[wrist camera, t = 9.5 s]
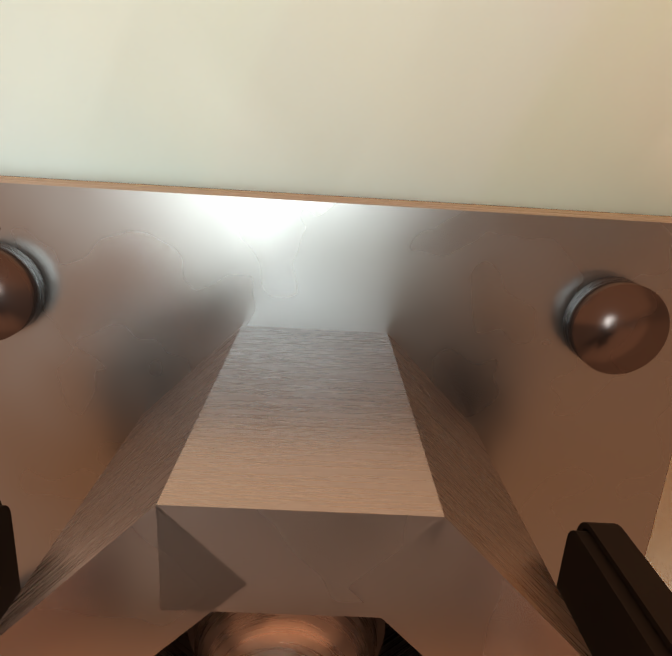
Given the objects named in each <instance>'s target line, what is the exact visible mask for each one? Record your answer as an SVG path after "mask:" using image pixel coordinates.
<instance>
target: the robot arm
mask: <svg viewBox="0 0 672 656" xmlns="http://www.w3.org/2000/svg"><path fill="white" fill-rule="evenodd" d="M556 587H557V589H558V591H559V592H560V594H561V596H562V598H563V600H564V602H565V604H566V606H567V608H568V610H569V612H570V614H571V616H572V618H573V620H574V622H575V624H576V625H577V627H578V629H579V631H580V633H581V635H582V637H583V639H584V641H585V643H586V645H587V647H588V649H589V651H590V653H591V655H592V656H672V592H671V591H670V590H669V588H668V587H667V586H666V584H665V583H664V582H663V581H662V579H661V578H660V577H659V575H658V574H657V573H656V571H655V570H654V569H653V567H652V566H651V565H650V564H649V562H648V561H647V560H646V558H645V557H644V556H643V554H642V553H641V552H640V550H639V549H638V548H637V547H636V545H635V544H634V543H633V541H632V540H631V539H630V537H629V536H628V535H627V533H626V532H625V531H624V530H623V528H622V527H621V526H620V525H618V524H615V523H597V522H582V523H580V525H579V526H578V528H577V530H572V531H570V532H569V533H568V535H567V539H566V543H565V548H564V553H563V557H562V562H561V567H560V571H559V576H558V581H557V585H556ZM20 591H21V587H20V579H19V571H18V563H17V555H16V548H15V540H14V532H13V524H12V516H11V511H10V508H9V507H8V506H6V505H2V504H1V501H0V620H1V619H2V617H3V616H4V614H5V613H6V612H7V610H8V609H9V607H10V606H11V604H12V603H13V601H14V600H15V598H16V597H17V596H18V594H19V593H20Z"/></svg>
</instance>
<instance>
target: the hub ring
mask: <svg viewBox="0 0 672 656" xmlns="http://www.w3.org/2000/svg"><path fill="white" fill-rule="evenodd" d="M210 612H238V613H265V614H292V615H320V616H347V617H374V618H382V619H383V620H384V621H385V634H384V639H383V644H382V646H381V649H380V652H379V654H378V656H592V655H591V653H590V651H589V649H588V647H587V645H586V643H585V641H584V639H583V637H582V635H581V633H580V631H579V629H578V627H577V625H576V624H575V622H574V620H573V618H572V616H571V614H570V612H569V610H568V608H567V606H566V604H565V602H564V600H563V598H562V596H561V594H560V592H559V591H558V589H557V587H556V585H555V583H554V581H553V579H552V577H551V575H550V573H549V571H548V569H547V567H546V565H545V563H544V561H543V559H542V558H541V556H540V554H539V552H538V550H537V548H536V546H535V544H534V542H533V540H532V538H531V536H530V534H529V532H528V530H527V528H526V526H525V525H524V523H523V521H522V519H521V517H520V515H519V513H518V511H517V509H516V507H515V505H514V503H513V501H512V499H511V497H510V495H509V493H508V492H507V490H506V488H505V486H504V484H503V482H502V480H501V478H500V476H499V474H498V472H497V470H496V468H495V466H494V464H493V462H492V460H491V459H490V457H489V455H488V453H487V451H486V449H485V447H484V445H483V443H482V441H481V439H480V437H479V435H478V433H477V431H476V430H475V428H474V427H473V426H472V425H471V424H470V423H469V422H468V421H467V420H466V419H465V417H464V416H463V415H462V414H461V413H460V412H459V411H458V410H457V409H456V408H455V407H454V405H453V404H452V403H451V402H450V401H449V400H448V399H447V398H446V397H445V396H444V394H443V393H442V392H441V391H440V390H439V389H438V388H437V387H436V386H435V385H434V384H433V382H432V381H431V380H430V379H429V378H428V377H427V376H426V375H425V374H424V373H423V371H422V370H421V369H420V368H419V367H418V366H417V365H416V364H415V363H414V362H413V360H412V359H411V358H410V357H409V356H408V355H407V354H406V353H405V352H404V351H403V350H402V348H401V347H400V346H399V345H398V344H397V343H396V342H395V341H394V340H393V339H392V337H391V336H390V335H389V334H388V333H378V332H358V331H339V330H319V329H299V328H279V327H260V326H241V327H240V328H239V329H238V330H237V331H236V332H235V333H233V334H232V335H231V336H230V337H229V338H228V339H227V340H226V341H224V342H223V343H222V344H221V345H220V346H219V347H218V348H217V349H215V350H214V351H213V352H212V353H211V354H210V355H209V356H208V357H207V358H205V359H204V360H203V361H202V362H201V363H200V364H199V365H198V366H196V367H195V368H194V369H193V370H192V371H191V372H190V373H189V374H187V375H186V376H185V377H184V378H183V379H182V380H181V381H180V382H178V383H177V384H176V385H175V386H174V387H173V388H172V389H171V390H170V391H168V392H167V393H166V394H165V395H164V396H163V397H162V398H161V399H159V400H158V401H157V402H156V403H155V404H154V405H153V406H152V407H150V408H149V409H148V410H147V411H146V412H145V413H144V414H143V415H142V416H141V418H140V419H139V421H138V422H137V423H136V425H135V426H134V428H133V429H132V431H131V432H130V434H129V435H128V436H127V438H126V439H125V441H124V442H123V444H122V445H121V447H120V448H119V449H118V451H117V452H116V454H115V455H114V457H113V458H112V460H111V461H110V463H109V464H108V465H107V467H106V468H105V470H104V471H103V473H102V474H101V476H100V477H99V478H98V480H97V481H96V483H95V484H94V486H93V487H92V489H91V490H90V491H89V493H88V494H87V496H86V497H85V499H84V500H83V502H82V503H81V504H80V506H79V507H78V509H77V510H76V512H75V513H74V515H73V516H72V517H71V519H70V520H69V522H68V523H67V525H66V526H65V528H64V529H63V530H62V532H61V533H60V535H59V536H58V538H57V539H56V541H55V542H54V544H53V545H52V546H51V548H50V549H49V551H48V552H47V554H46V555H45V557H44V558H43V559H42V561H41V562H40V564H39V565H38V567H37V568H36V570H35V571H34V572H33V574H32V575H31V577H30V578H29V580H28V581H27V583H26V584H25V585H24V587H23V588H22V590H21V591H20V593H19V594H18V596H17V597H16V598H15V600H14V601H13V603H12V604H11V606H10V607H9V609H8V610H7V612H6V613H5V614H4V616H3V617H2V619H1V620H0V656H195V653H194V651H193V649H192V647H191V644H190V640H189V637H188V629H189V628H191V627H192V626H193V625H195V624H196V623H197V622H198V621H200V620H201V619H202V618H204V617H205V616H206V615H208V614H209V613H210Z"/></svg>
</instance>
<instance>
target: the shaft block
mask: <svg viewBox="0 0 672 656" xmlns="http://www.w3.org/2000/svg"><path fill="white" fill-rule="evenodd" d="M241 326H260V327H279V328H299V329H319V330H339V331H358V332H378V333H388V334H389V335H390V336H391V337H392V339H393V340H394V341H395V342H396V343H397V344H398V345H399V346H400V347H401V348H402V350H403V351H404V352H405V353H406V354H407V355H408V356H409V357H410V358H411V359H412V360H413V362H414V363H415V364H416V365H417V366H418V367H419V368H420V369H421V370H422V371H423V373H424V374H425V375H426V376H427V377H428V378H429V379H430V380H431V381H432V382H433V384H434V385H435V386H436V387H437V388H438V389H439V390H440V391H441V392H442V393H443V394H444V396H445V397H446V398H447V399H448V400H449V401H450V402H451V403H452V404H453V405H454V407H455V408H456V409H457V410H458V411H459V412H460V413H461V414H462V415H463V416H464V417H465V419H466V420H467V421H468V422H469V423H470V424H471V425H472V426H473V427H474V428H475V430H476V431H477V433H478V435H479V437H480V439H481V441H482V443H483V445H484V447H485V449H486V451H487V453H488V455H489V457H490V459H491V460H492V462H493V464H494V466H495V468H496V470H497V472H498V474H499V476H500V478H501V480H502V482H503V484H504V486H505V488H506V490H507V492H508V493H509V495H510V497H511V499H512V501H513V503H514V505H515V507H516V509H517V511H518V513H519V515H520V517H521V519H522V521H523V523H524V525H525V526H526V528H527V530H528V532H529V534H530V536H531V538H532V540H533V542H534V544H535V546H536V548H537V550H538V552H539V554H540V556H541V558H542V559H543V561H544V563H545V565H546V567H547V569H548V571H549V573H550V575H551V577H552V579H553V581H554V583H555V585H557V581H558V576H559V571H560V567H561V562H562V557H563V553H564V548H565V543H566V539H567V535H568V533H569V532H570V531H572V530H577V528H578V526H579V525H580V523H582V522H597V523H615V524H618V525H620V526H621V527H622V528H623V530H624V531H625V532H626V533H627V535H628V536H629V537H630V539H631V540H632V541H633V543H634V544H635V545H636V547H637V548H638V549H639V550H640V552H641V553H642V554H643V556H644V557H645V554H646V550H647V546H648V542H649V538H650V535H651V531H652V527H653V523H654V520H655V516H656V512H657V508H658V505H659V501H660V497H661V493H662V489H663V486H664V482H665V478H666V474H667V471H668V467H669V463H670V459H671V456H672V216H656V215H639V214H623V213H607V212H590V211H574V210H557V209H541V208H524V207H508V206H491V205H475V204H458V203H442V202H425V201H409V200H392V199H376V198H359V197H343V196H326V195H310V194H294V193H277V192H261V191H244V190H228V189H211V188H195V187H178V186H162V185H145V184H129V183H112V182H96V181H79V180H63V179H46V178H30V177H13V176H0V501H1V504H2V505H6V506H8V507H9V508H10V511H11V516H12V524H13V532H14V540H15V548H16V555H17V563H18V571H19V579H20V587H21V590H22V588H23V587H24V585H25V584H26V583H27V581H28V580H29V578H30V577H31V575H32V574H33V572H34V571H35V570H36V568H37V567H38V565H39V564H40V562H41V561H42V559H43V558H44V557H45V555H46V554H47V552H48V551H49V549H50V548H51V546H52V545H53V544H54V542H55V541H56V539H57V538H58V536H59V535H60V533H61V532H62V530H63V529H64V528H65V526H66V525H67V523H68V522H69V520H70V519H71V517H72V516H73V515H74V513H75V512H76V510H77V509H78V507H79V506H80V504H81V503H82V502H83V500H84V499H85V497H86V496H87V494H88V493H89V491H90V490H91V489H92V487H93V486H94V484H95V483H96V481H97V480H98V478H99V477H100V476H101V474H102V473H103V471H104V470H105V468H106V467H107V465H108V464H109V463H110V461H111V460H112V458H113V457H114V455H115V454H116V452H117V451H118V449H119V448H120V447H121V445H122V444H123V442H124V441H125V439H126V438H127V436H128V435H129V434H130V432H131V431H132V429H133V428H134V426H135V425H136V423H137V422H138V421H139V419H140V418H141V416H142V415H143V414H144V413H145V412H146V411H147V410H148V409H149V408H150V407H152V406H153V405H154V404H155V403H156V402H157V401H158V400H159V399H161V398H162V397H163V396H164V395H165V394H166V393H167V392H168V391H170V390H171V389H172V388H173V387H174V386H175V385H176V384H177V383H178V382H180V381H181V380H182V379H183V378H184V377H185V376H186V375H187V374H189V373H190V372H191V371H192V370H193V369H194V368H195V367H196V366H198V365H199V364H200V363H201V362H202V361H203V360H204V359H205V358H207V357H208V356H209V355H210V354H211V353H212V352H213V351H214V350H215V349H217V348H218V347H219V346H220V345H221V344H222V343H223V342H224V341H226V340H227V339H228V338H229V337H230V336H231V335H232V334H233V333H235V332H236V331H237V330H238V329H239V328H240V327H241ZM384 634H385V621H384V620H383V619H382V618H374V617H347V616H320V615H292V614H265V613H238V612H210V613H209V614H208V615H206V616H205V617H204V618H202V619H201V620H200V621H198V622H197V623H196V624H195V625H193V626H192V627H191V628H189V629H188V637H189V640H190V644H191V647H192V649H193V651H194V653H195V656H378V654H379V652H380V649H381V646H382V644H383V639H384Z"/></svg>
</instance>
